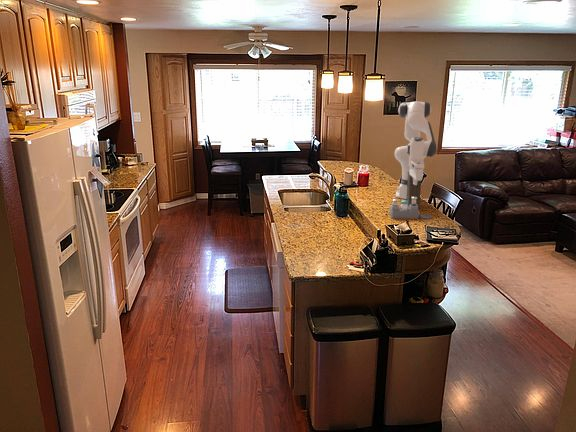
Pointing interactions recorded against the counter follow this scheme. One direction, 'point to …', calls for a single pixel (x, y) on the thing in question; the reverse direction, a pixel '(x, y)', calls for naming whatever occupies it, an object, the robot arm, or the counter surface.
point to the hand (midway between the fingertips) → (415, 184)
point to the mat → (425, 217)
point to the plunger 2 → (413, 201)
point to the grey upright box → (413, 191)
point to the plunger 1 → (395, 202)
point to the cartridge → (404, 205)
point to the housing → (404, 212)
